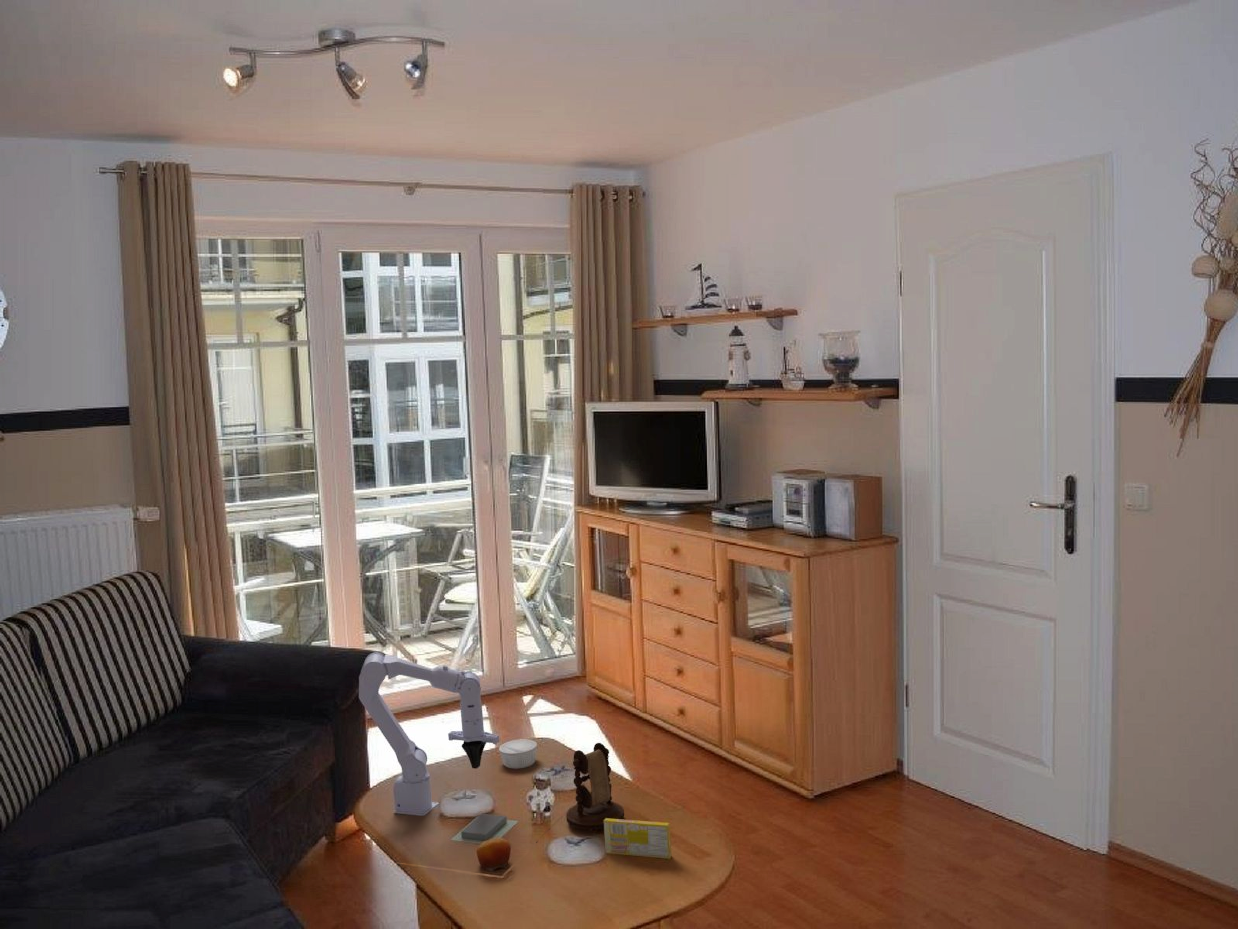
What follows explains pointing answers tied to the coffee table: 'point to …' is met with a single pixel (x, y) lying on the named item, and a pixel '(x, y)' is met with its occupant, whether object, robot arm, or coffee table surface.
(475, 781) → the coffee table surface
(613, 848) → the candy box
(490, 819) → the slate tile
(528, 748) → the ramekin
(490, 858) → the fruit
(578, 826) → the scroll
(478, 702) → the robot arm
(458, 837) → the felt mat
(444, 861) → the coffee table surface
